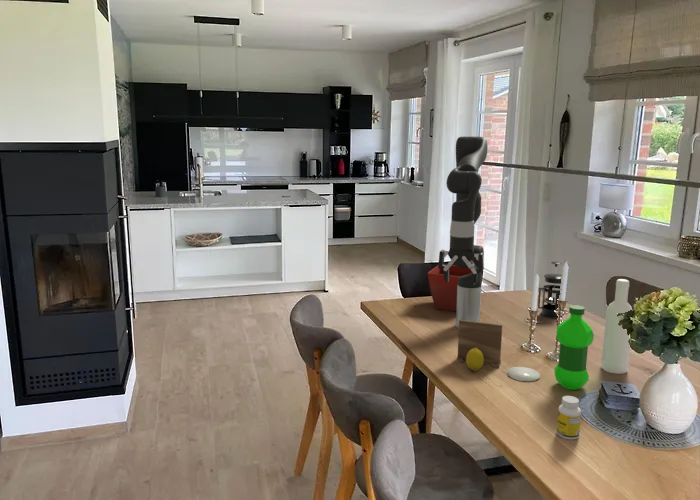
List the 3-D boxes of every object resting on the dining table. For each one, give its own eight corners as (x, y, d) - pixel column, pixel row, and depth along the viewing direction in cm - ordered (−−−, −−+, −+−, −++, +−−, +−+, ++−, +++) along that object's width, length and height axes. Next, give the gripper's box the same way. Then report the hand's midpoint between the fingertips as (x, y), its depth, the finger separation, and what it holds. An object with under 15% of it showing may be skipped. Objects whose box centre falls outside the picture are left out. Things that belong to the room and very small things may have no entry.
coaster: (509, 366, 187) (509, 365, 187) (541, 371, 183) (541, 369, 183) (505, 378, 178) (505, 376, 178) (538, 383, 174) (538, 381, 174)
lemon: (483, 375, 180) (484, 351, 179) (465, 373, 181) (466, 350, 180) (482, 368, 186) (484, 345, 184) (465, 367, 187) (466, 344, 185)
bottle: (616, 375, 180) (625, 284, 174) (595, 367, 187) (603, 278, 181) (632, 371, 184) (642, 281, 178) (611, 362, 191) (620, 276, 185)
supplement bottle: (552, 429, 147) (555, 394, 145) (572, 428, 148) (576, 393, 146) (562, 440, 142) (565, 404, 140) (583, 439, 142) (586, 403, 140)
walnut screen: (459, 356, 196) (460, 317, 193) (500, 362, 190) (503, 322, 188) (456, 361, 191) (457, 322, 188) (498, 368, 186) (501, 327, 183)
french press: (560, 311, 246) (564, 259, 242) (569, 318, 237) (573, 264, 233) (533, 311, 246) (537, 259, 242) (541, 318, 237) (545, 264, 232)
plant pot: (469, 316, 240) (471, 277, 236) (425, 310, 248) (426, 272, 244) (479, 304, 257) (481, 267, 253) (438, 299, 265) (439, 263, 261)
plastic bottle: (571, 376, 179) (577, 300, 174) (596, 390, 170) (603, 310, 165) (545, 381, 176) (551, 303, 171) (569, 395, 166) (576, 314, 161)
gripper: (486, 233, 181) (484, 282, 185) (442, 230, 187) (441, 277, 190) (482, 238, 175) (480, 288, 178) (437, 234, 180) (435, 283, 184)
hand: (460, 283), depth 184 cm, fingers open, 8 cm apart
